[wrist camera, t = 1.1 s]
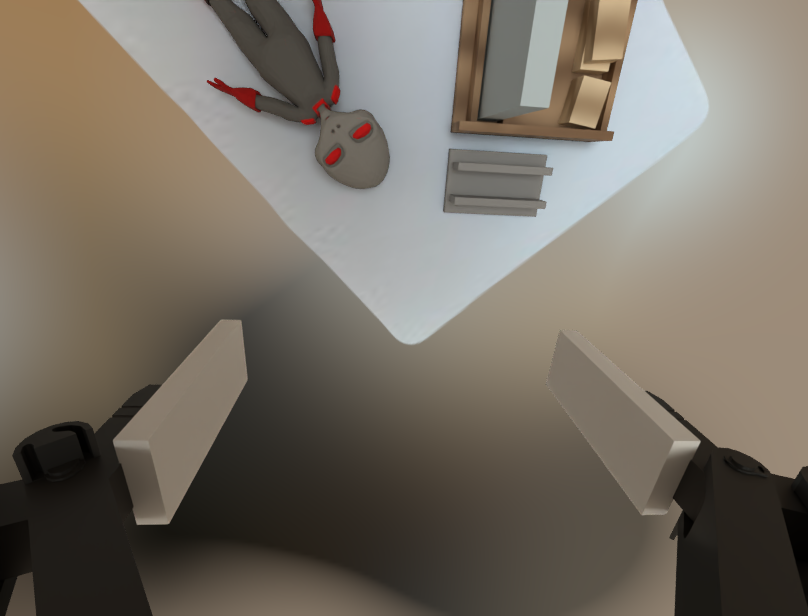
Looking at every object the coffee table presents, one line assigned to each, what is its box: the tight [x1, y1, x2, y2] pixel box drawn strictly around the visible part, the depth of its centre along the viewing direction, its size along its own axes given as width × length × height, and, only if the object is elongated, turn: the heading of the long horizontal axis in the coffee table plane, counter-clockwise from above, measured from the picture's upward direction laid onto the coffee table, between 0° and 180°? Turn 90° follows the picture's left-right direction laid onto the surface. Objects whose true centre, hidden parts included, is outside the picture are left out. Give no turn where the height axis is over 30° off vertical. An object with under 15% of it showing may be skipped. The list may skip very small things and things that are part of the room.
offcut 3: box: [583, 0, 631, 64], centre depth 42 cm, size 6×4×2 cm, turn 3°
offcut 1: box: [572, 0, 610, 75], centre depth 44 cm, size 8×4×2 cm, turn 177°
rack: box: [451, 0, 638, 142], centre depth 44 cm, size 17×19×5 cm
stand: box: [443, 149, 553, 217], centre depth 49 cm, size 13×8×4 cm, turn 87°
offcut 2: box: [558, 75, 611, 130], centre depth 46 cm, size 5×4×3 cm
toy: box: [205, 0, 390, 189], centre depth 43 cm, size 16×10×30 cm
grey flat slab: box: [477, 0, 568, 122], centre depth 37 cm, size 14×3×16 cm, turn 177°
